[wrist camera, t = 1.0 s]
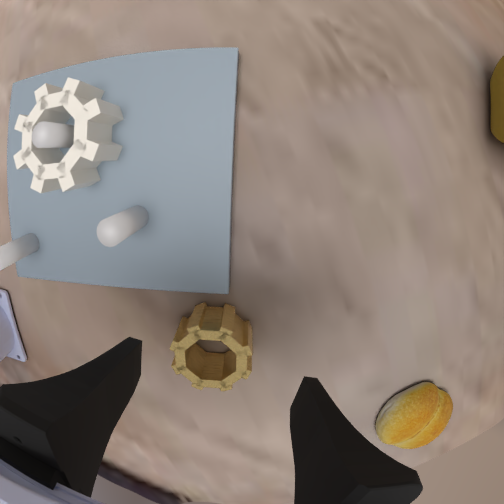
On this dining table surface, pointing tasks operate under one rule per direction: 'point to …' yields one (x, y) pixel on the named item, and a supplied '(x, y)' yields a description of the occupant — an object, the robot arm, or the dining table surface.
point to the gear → (85, 136)
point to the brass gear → (213, 364)
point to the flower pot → (497, 101)
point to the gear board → (135, 178)
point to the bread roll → (414, 416)
